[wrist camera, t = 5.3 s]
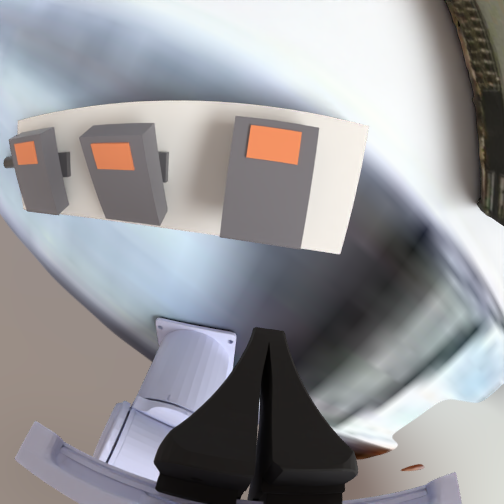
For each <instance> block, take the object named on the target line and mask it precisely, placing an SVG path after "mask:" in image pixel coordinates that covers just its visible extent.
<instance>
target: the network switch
mask: <svg viewBox="0 0 504 504" xmlns="http://www.w3.org/2000/svg"><path fill="white" fill-rule="evenodd" d="M445 1H446V3H447V5H448V8H449V10H450V13H451V15H452V20H453V23H455V26H456V28H457V33H458V37H459V39H460V42H461V46H462V50H463V56H464V58H465V61H466V67H467V69H468V71H469V77H470V81H471V83H472V89H473V92H474V98H472V100H473V103H474V104H475V108H476V115H477V119H476V121H477V130H478V138H479V157H480V163H481V168H480V170H481V173H480V177H481V200H480V198H479V202H478V203H477V205H478V207H479V208H480V210H481V211H482V212H484V213H485V214H486V215H487V216H489V217H491V218H493V219H494V220H496V221H497V222H498V223H500V224H501V225H503V226H504V0H451V2H450V0H445ZM458 20H459V23H460V27H459V26H458Z"/></svg>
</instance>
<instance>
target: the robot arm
mask: <svg viewBox="0 0 504 504" xmlns="http://www.w3.org/2000/svg"><path fill="white" fill-rule="evenodd" d="M155 324H156V331H157V338H158V344H159V349H158V351H157V353H156V356H155V358H154V360H153V362H152V364H151V366H150V368H149V370H148V373H147V375H146V377H145V379H144V381H143V383H142V386H141V388H140V390H139V392H138V394H137V397H136V398H135V400H134V402H133V404H132V405H131V407H130V403H128V402H127V401H124V402H123V403H117V404H116V406H115V407H114V409H113V411H112V413H111V416H110V418H109V420H108V422H107V424H106V426H105V428H104V431H103V433H102V435H101V437H100V440H99V442H98V444H97V447H96V449H95V452H94V454H93V456H94V457H92V456H90V455H88V454H86V453H84V452H82V451H80V450H78V449H76V448H74V447H73V446H71V445H69V444H67V443H65V442H64V441H63V440H62V439H61V438H60V437H59V436H58V435H57V434H56V433H54V432H53V431H51V430H50V429H48V428H46V427H45V426H43V425H41V424H40V423H38V422H37V421H35V422H34V423H33V425H32V427H31V429H30V430H29V432H28V434H27V436H26V438H25V439H24V442H23V443H22V445H21V447H20V449H19V451H18V453H17V455H16V457H15V460H16V461H17V462H18V463H20V464H21V465H22V466H23V467H25V468H26V469H27V470H29V471H30V472H31V473H33V474H34V475H36V476H37V477H38V478H40V479H41V480H43V481H44V482H45V483H47V484H48V485H50V486H51V487H53V488H54V489H56V490H57V491H59V492H61V493H62V494H64V495H65V496H67V497H69V498H71V499H72V500H74V501H76V502H77V503H79V504H462V503H461V497H460V491H459V485H458V480H457V475H456V473H455V472H454V473H451V474H448V475H445V476H442V477H439V478H437V479H435V480H433V481H431V482H429V483H428V484H427V485H423V486H420V487H416V488H412V489H408V490H404V491H400V492H395V493H391V494H386V495H381V496H375V497H369V498H362V499H355V500H346V501H342V493H343V492H344V491H345V483H347V482H348V481H350V480H352V479H353V478H354V477H355V476H356V475H357V474H358V466H357V461H356V457H355V454H354V451H353V450H352V449H351V448H350V447H349V446H348V445H347V444H346V443H345V442H344V441H343V440H342V439H341V438H340V437H339V436H338V435H337V434H336V432H335V431H334V430H333V429H332V428H331V427H330V425H329V424H328V423H327V421H326V420H325V419H324V417H323V416H322V415H321V413H320V412H319V410H318V409H317V407H316V406H315V404H314V403H313V401H312V399H311V398H310V396H309V394H308V393H307V391H306V389H305V387H304V385H303V383H302V381H301V379H300V377H299V374H298V372H297V370H296V367H295V365H294V362H293V360H292V357H291V354H290V351H289V348H288V344H287V340H286V336H285V333H284V331H279V330H272V329H265V328H258V327H255V328H253V332H252V335H251V338H250V340H249V343H248V345H247V347H246V349H245V351H244V352H243V354H242V356H241V358H240V360H239V361H238V363H237V364H236V366H235V367H234V369H233V361H234V353H235V344H236V334H235V333H233V332H229V331H223V330H218V329H212V328H207V327H202V326H196V325H191V324H187V323H182V322H177V321H173V320H168V319H164V318H157V319H156V321H155ZM161 326H162V327H161ZM230 340H232V341H230ZM259 398H260V420H259V431H258V438H257V426H258V411H259ZM256 444H257V445H256ZM249 485H250V489H249V494H248V500H240V498H241V495H242V494H243V492H244V491H246V490H247V488H248V486H249Z"/></svg>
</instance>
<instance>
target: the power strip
mask: <svg viewBox="0 0 504 504" xmlns="http://www.w3.org/2000/svg"><path fill="white" fill-rule="evenodd" d="M235 116H242V117H252V118H261V119H269V120H276V121H283V122H289V123H296V124H302V125H307V126H313V127H318V128H319V134H318V142H317V150H316V157H315V164H314V171H313V178H312V184H311V191H310V197H309V203H308V209H307V215H306V221H305V227H304V233H303V238H302V244H301V248H303V249H309V250H316V251H322V252H328V253H335V254H340V253H341V249H342V245H343V242H344V238H345V234H346V231H347V227H348V223H349V219H350V215H351V211H352V207H353V203H354V198H355V194H356V190H357V185H358V181H359V176H360V171H361V166H362V161H363V156H364V151H365V146H366V140H367V135H368V129H369V126H366V125H362V124H358V123H354V122H350V121H346V120H342V119H338V118H333V117H328V116H324V115H319V114H314V113H308V112H303V111H297V110H291V109H284V108H277V107H270V106H261V105H252V104H242V103H230V102H213V101H142V102H127V103H115V104H105V105H96V106H89V107H82V108H75V109H69V110H64V111H58V112H53V113H48V114H43V115H39V116H35V117H31V118H27V119H23V120H19V121H18V134H20V133H22V132H27V131H32V130H37V129H43V128H49V127H54V129H55V136H56V143H57V149H58V155H59V161H60V166H61V171H62V176H63V181H64V185H65V189H66V193H67V198H68V202H69V206H68V207H66V208H65V209H64V210H63V211H62V212H61V213H60V214H64V215H72V216H80V217H87V218H95V219H103V220H110V221H117V222H125V223H132V224H140V225H147V226H154V227H161V228H168V229H175V230H182V231H189V232H196V233H203V234H210V235H217V236H220V229H221V220H222V212H223V203H224V195H225V187H226V180H227V172H228V165H229V157H230V150H231V143H232V136H233V130H234V123H235ZM124 123H155V131H156V139H157V146H158V153H159V160H160V167H161V173H162V179H163V185H164V191H165V197H166V202H167V213H166V215H165V217H164V219H163V221H162V223H161V225H160V226H157V225H149V224H142V223H135V222H127V221H120V220H112V219H106V218H105V215H104V213H103V210H102V207H101V205H100V202H99V199H98V196H97V194H96V191H95V188H94V185H93V182H92V179H91V176H90V173H89V170H88V167H87V164H86V160H85V157H84V154H83V150H82V147H81V143H80V140H79V137H80V136H81V135H82V134H84V133H85V132H86V131H87V130H88V129H89V128H91V127H92V126H93V125H105V124H124ZM4 167H5V168H14V163H13V159H12V156H10V157H6V158H5V160H4ZM22 202H23V208H24V210H26V207H25V204H24V201H23V197H22Z"/></svg>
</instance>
